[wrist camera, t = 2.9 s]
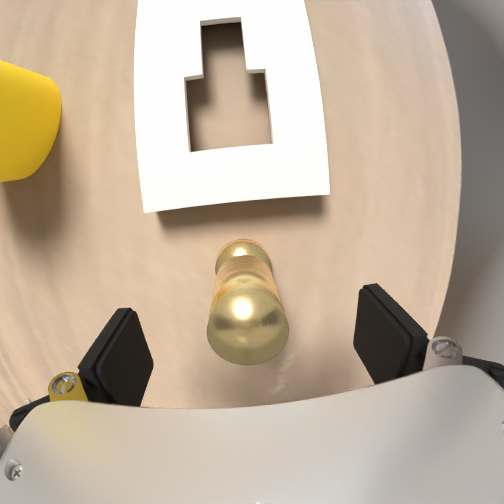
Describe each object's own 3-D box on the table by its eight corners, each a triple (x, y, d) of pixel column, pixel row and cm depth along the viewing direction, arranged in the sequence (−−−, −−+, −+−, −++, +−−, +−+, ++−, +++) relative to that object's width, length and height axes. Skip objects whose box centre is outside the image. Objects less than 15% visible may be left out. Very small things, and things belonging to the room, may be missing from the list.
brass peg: (271, 286, 21) (293, 362, 12) (220, 292, 21) (210, 370, 12) (267, 236, 20) (292, 288, 11) (213, 242, 20) (194, 298, 11)
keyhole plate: (319, 191, 19) (329, 194, 17) (154, 208, 19) (144, 213, 16) (291, -9, 14) (297, -24, 12) (147, 5, 14) (139, -8, 11)
